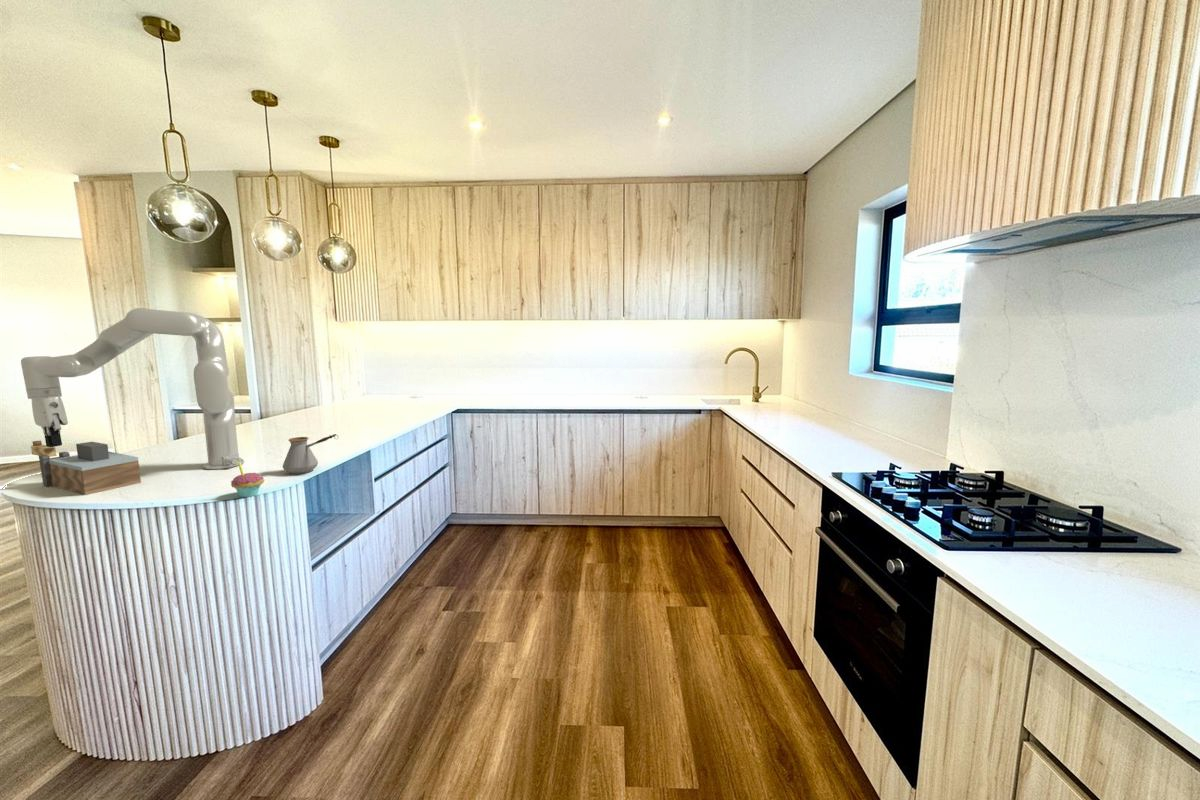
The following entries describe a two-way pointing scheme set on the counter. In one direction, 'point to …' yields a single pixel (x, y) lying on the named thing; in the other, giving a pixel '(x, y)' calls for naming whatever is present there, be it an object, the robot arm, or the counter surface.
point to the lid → (92, 457)
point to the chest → (88, 476)
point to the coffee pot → (301, 456)
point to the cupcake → (247, 483)
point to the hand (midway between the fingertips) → (54, 446)
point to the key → (42, 449)
